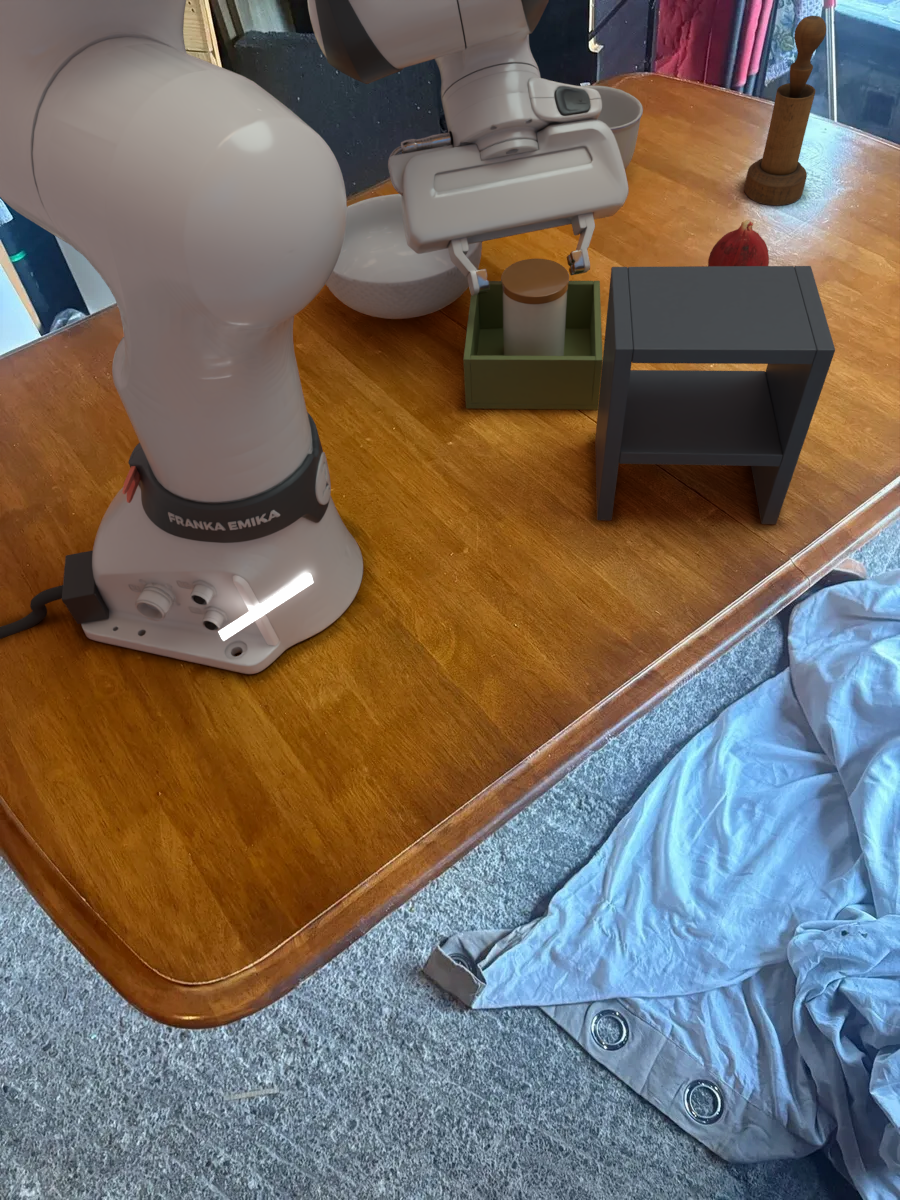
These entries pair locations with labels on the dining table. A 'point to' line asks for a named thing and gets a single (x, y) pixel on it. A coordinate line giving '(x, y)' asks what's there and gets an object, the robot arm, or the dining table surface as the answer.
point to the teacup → (621, 118)
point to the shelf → (711, 373)
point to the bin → (534, 357)
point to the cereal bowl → (392, 265)
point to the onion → (740, 248)
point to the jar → (534, 308)
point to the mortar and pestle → (788, 126)
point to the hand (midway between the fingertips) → (531, 282)
